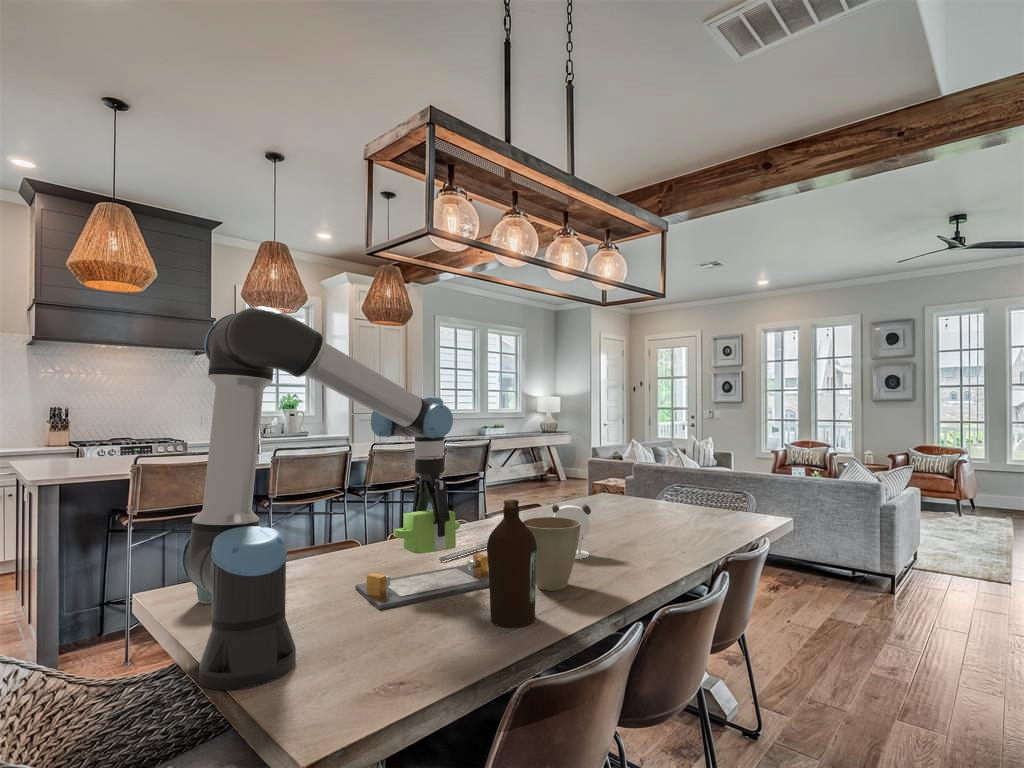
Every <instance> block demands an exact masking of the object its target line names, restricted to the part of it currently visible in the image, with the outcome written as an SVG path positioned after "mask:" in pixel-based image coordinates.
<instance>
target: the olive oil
mask: <svg viewBox="0 0 1024 768" xmlns="http://www.w3.org/2000/svg"><path fill="white" fill-rule="evenodd" d="M502 512H503V518H502V520H501V521H500V522H499V523H498V525H497V526H496V527H494V529H493V530H492V531H491V533H490V534H489V537H488V539H487V541H488V543H487V550H486V556H487V557H488V572H489V587H488V588H489V607H490V621H491V623H493V624H494V625H496V626H498V627H503V628H511V629H513V628H514V629H515V628H522V627H527V626H529V625H531V624H533V623H534V622H535V620H536V589H537V585H536V559H537V544H536V540H535V537H534V535H533V533H532V532H531V530H530V529H529V528H528V527H527V526H526V525H525V524H524V523H523V522H522V521H523V520H522V519H521V518H520V506H519V500H518V499H513V498H509V499H504V500H503V511H502Z"/></svg>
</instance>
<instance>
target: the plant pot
mask: <svg viewBox="0 0 1024 768" xmlns="http://www.w3.org/2000/svg"><path fill="white" fill-rule="evenodd" d="M521 521H522V522H523V523H524V524H525V525H526V526H527V527H528V528H529V529H530V530H531V532H532V533H533V535H534V537H535V540H536V544H537V559H536V588H537V589H540V590H542V591H547V592H549V591H550V592H556V591H561V590H565V589H566V588H567V585H568V582H569V580H570V577H571V574H572V570H573V567H574V563H575V561H576V560H575V556H576V551H577V547H578V541H579V534H580V526H581V523H580V522H579V521H577V520H574V519H569V518H560V517H553V516H538V517H531V518H527V519H524V520H521Z"/></svg>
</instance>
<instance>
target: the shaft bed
mask: <svg viewBox="0 0 1024 768" xmlns="http://www.w3.org/2000/svg"><path fill="white" fill-rule="evenodd" d="M484 588H489V572H488V557H487V555H485V554H482V553H479V552H477V553H473V554H472V559H471V560H467V562H466V564H464V565H458V566H456V565H455V566H452V567H448V568H447V567H446V568H440V569H437V570H436V569H434V570H430V571H426V572H419V573H413V574H408V575H402V576H396V577H391V575H385V574H379V573H374V572H373V573H369V574H366V582H364V583H359V584H355V590H356V591H357V592H358V591H359V593H360V594H361V595H362V596H363V597H364V598H365V600H368V601H369V602H370V603H371V604H372V605H373V606H374V607H376V609H378V610H385V609H390V608H395V607H400V606H405V605H409V604H414V603H419V602H423V601H428V600H433V599H434V600H435V599H437V598H441V597H442V598H443V597H447V596H453V595H457V594H461V593H466V592H470V591H471V592H472V591H476V590H480V589H484Z"/></svg>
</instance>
